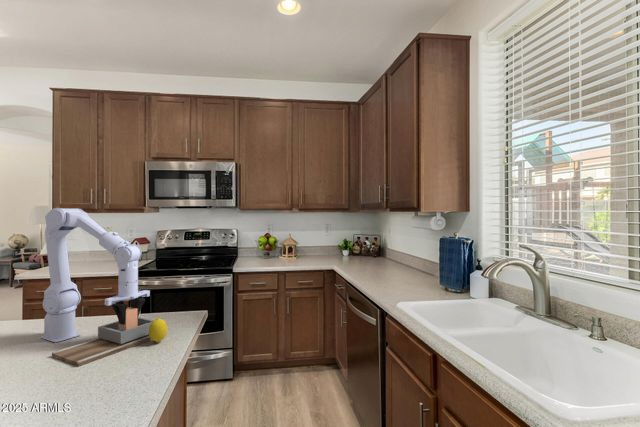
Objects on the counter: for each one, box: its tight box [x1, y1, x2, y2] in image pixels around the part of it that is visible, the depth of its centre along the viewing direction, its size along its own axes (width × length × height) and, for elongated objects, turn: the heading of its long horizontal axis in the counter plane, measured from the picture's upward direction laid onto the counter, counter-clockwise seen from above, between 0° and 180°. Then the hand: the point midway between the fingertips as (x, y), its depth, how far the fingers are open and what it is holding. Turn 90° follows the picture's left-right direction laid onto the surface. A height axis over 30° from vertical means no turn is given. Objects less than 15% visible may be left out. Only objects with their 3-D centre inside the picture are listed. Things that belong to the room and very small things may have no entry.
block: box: [119, 306, 138, 330], centre depth 116 cm, size 4×4×6 cm
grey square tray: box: [97, 316, 155, 344], centre depth 116 cm, size 12×13×4 cm
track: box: [51, 334, 153, 367], centre depth 111 cm, size 14×27×4 cm, turn 152°
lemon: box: [149, 317, 168, 344], centre depth 114 cm, size 6×6×8 cm
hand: (128, 322), depth 116 cm, fingers closed on block, 4 cm apart
